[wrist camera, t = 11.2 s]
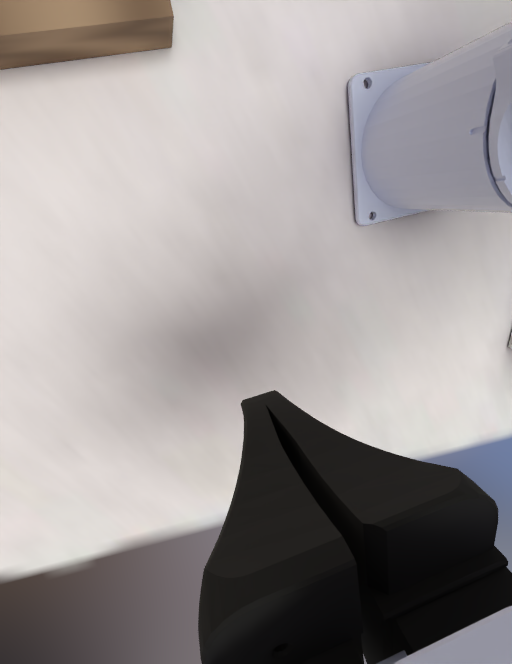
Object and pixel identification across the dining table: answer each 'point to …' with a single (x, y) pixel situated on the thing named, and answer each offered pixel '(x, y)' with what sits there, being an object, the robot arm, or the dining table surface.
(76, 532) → the dining table surface
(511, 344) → the tea box
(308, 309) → the dining table surface
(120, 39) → the open wooden frame
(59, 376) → the dining table surface
